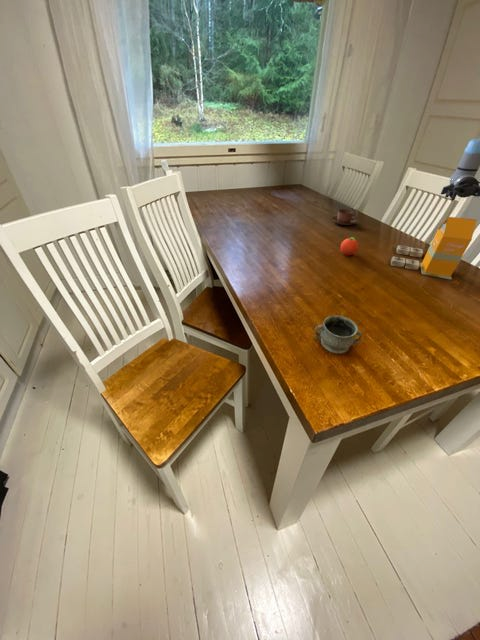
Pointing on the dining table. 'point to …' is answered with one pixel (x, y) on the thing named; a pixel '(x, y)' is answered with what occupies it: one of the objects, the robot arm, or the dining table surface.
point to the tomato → (349, 246)
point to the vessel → (338, 334)
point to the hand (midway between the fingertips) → (476, 198)
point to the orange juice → (448, 246)
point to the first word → (409, 251)
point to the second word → (412, 266)
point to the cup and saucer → (344, 217)
